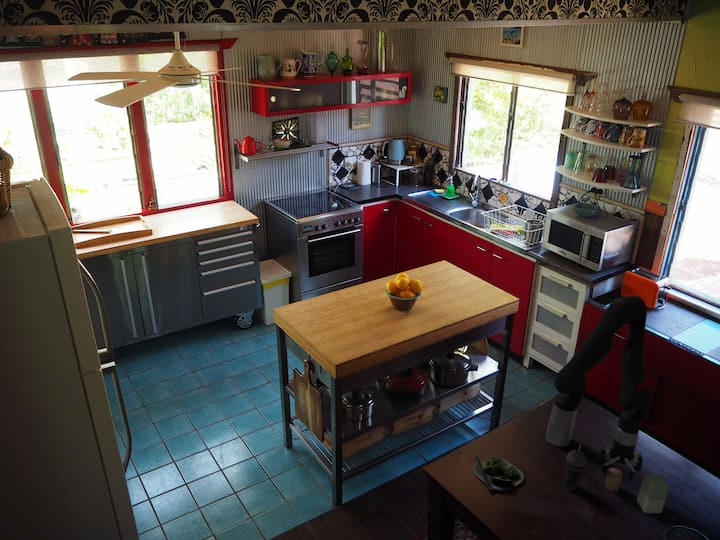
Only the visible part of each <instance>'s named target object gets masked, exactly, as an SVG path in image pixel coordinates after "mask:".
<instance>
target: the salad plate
mask: <svg viewBox="0 0 720 540" xmlns="http://www.w3.org/2000/svg"><path fill="white" fill-rule="evenodd" d="M474 462H475V465H474V466H473V473H474V475H475V476H476V477H477V478H478V479H479V480H480V481H482V482H483V483H484V485H486V487H487V488H488V490H490V491H494V492H500V493H507V492H509V490H510V491H512V490H514V489H516V488H517V487H519V486H521V485H522V484H523V483H524V482H525V476H524V473H523V472H522V470H520V469H518V467H515V465H513V464H511V462H510V461H508V460H507V459H505V458H503V457H500V456H490V457H487V458H485V459H484V460H481V459H480V458H479V456H477V455H475V456H474ZM501 466H503V467H501ZM487 474H488V475H490V477H488V476H486V475H487ZM515 479H516V481H515V483H513V480H515ZM506 491H507V492H506Z"/></svg>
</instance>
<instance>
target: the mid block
mask: <svg viewBox="0 0 720 540" xmlns="http://www.w3.org/2000/svg"><path fill="white" fill-rule="evenodd" d="M670 487H671V486H670V484H669V483H668V482H667V480H666V479H665V477H663V476H662V474H661V473H660V474H658V473H657V474H656V473H655V474H654V473H653V474H652V473H651V474H650V473H645V474H644V475H643V478H642V482H641V485H640V488H641V489H642V490H643V492H644V493H645V495H646V496H647V498H648V499H649V500H665V501H666V499H667V496H668V493H669V490H670Z"/></svg>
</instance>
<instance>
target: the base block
mask: <svg viewBox="0 0 720 540" xmlns="http://www.w3.org/2000/svg"><path fill="white" fill-rule="evenodd" d="M636 502H637V504H638V505H639V507H640V508H641V509H642V511H643V512H644V514H661V513H662V512H663V508H664V505H665V502H666V500H649V499H648V498H647V496H646V495H645V493H644V492H643V490H642V489H641V487H639V491H638V495H637V499H636Z"/></svg>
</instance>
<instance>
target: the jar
mask: <svg viewBox="0 0 720 540" xmlns="http://www.w3.org/2000/svg"><path fill="white" fill-rule="evenodd" d="M606 476H607V477H606V479H605V483H604V487H605V488H606V490H608V491H610V492H613V493H617V492H618V491H619V489H620V485H621V482H622V479H623V472H622V470H620V469H619V468H616V467H611V468H609V469H608V472H607V475H606Z"/></svg>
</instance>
